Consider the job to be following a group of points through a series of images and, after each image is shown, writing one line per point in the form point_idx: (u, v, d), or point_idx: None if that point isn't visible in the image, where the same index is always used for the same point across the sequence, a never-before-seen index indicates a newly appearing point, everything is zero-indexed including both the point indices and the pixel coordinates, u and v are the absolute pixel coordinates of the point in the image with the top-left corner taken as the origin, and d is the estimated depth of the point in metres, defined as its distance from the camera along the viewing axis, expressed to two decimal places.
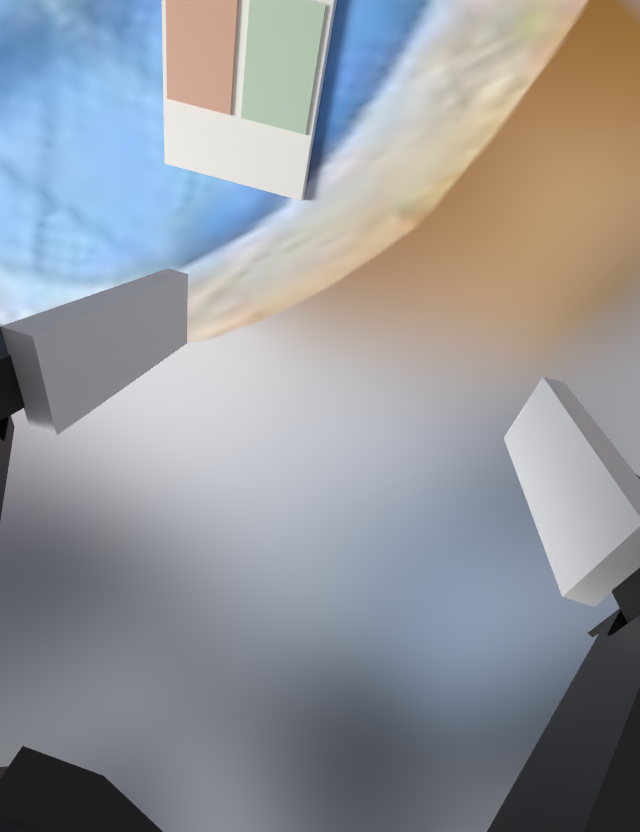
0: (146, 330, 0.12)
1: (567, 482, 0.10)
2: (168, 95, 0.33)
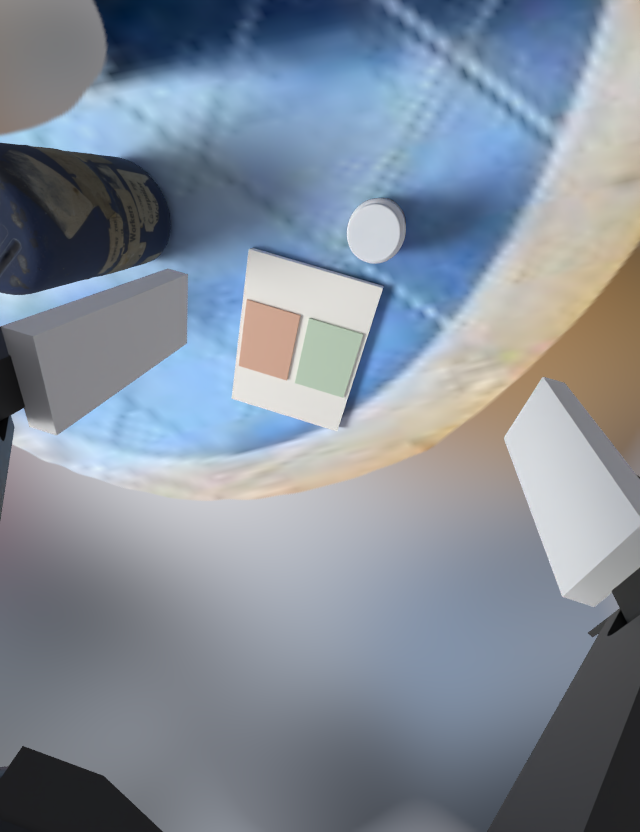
0: (146, 330, 0.12)
1: (567, 482, 0.10)
2: (240, 364, 0.44)
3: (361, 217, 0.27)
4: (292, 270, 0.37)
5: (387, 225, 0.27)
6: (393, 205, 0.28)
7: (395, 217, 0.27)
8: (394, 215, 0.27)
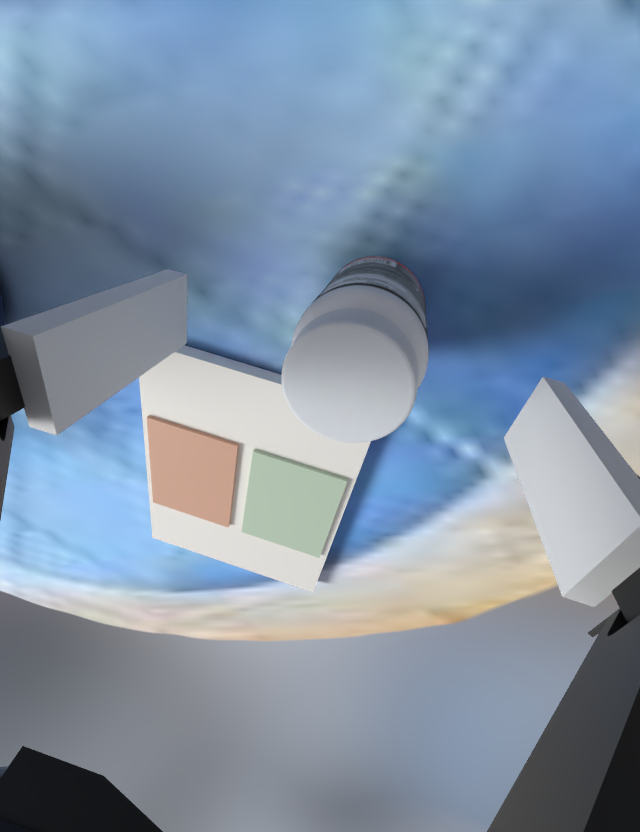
0: (146, 330, 0.12)
1: (567, 482, 0.10)
2: (154, 501, 0.27)
3: (312, 352, 0.10)
4: (216, 377, 0.20)
5: (382, 373, 0.10)
6: (398, 306, 0.11)
7: (403, 356, 0.10)
8: (400, 351, 0.10)
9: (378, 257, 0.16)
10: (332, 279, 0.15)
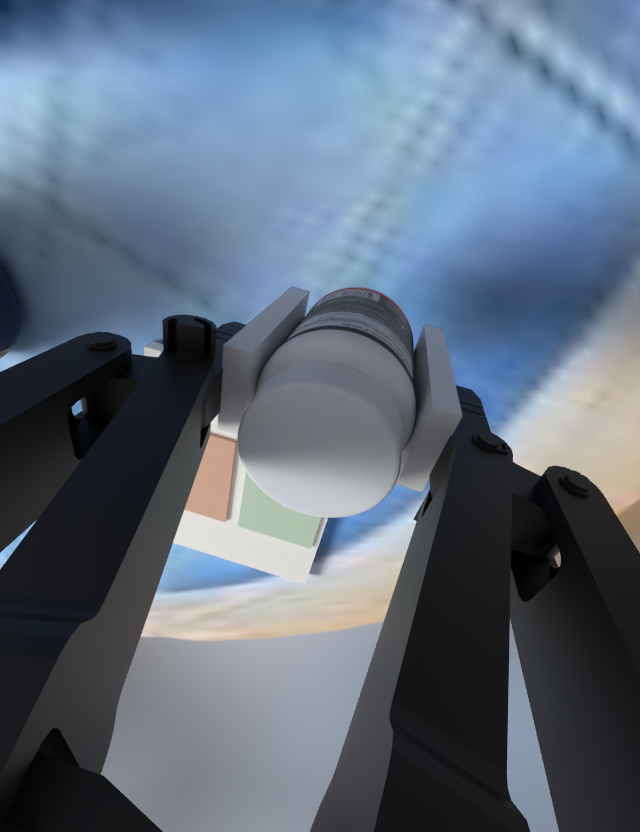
0: None
1: None
2: None
3: (272, 416, 0.08)
4: None
5: (358, 443, 0.08)
6: (379, 356, 0.09)
7: (383, 424, 0.08)
8: (379, 418, 0.08)
9: (359, 288, 0.14)
10: None
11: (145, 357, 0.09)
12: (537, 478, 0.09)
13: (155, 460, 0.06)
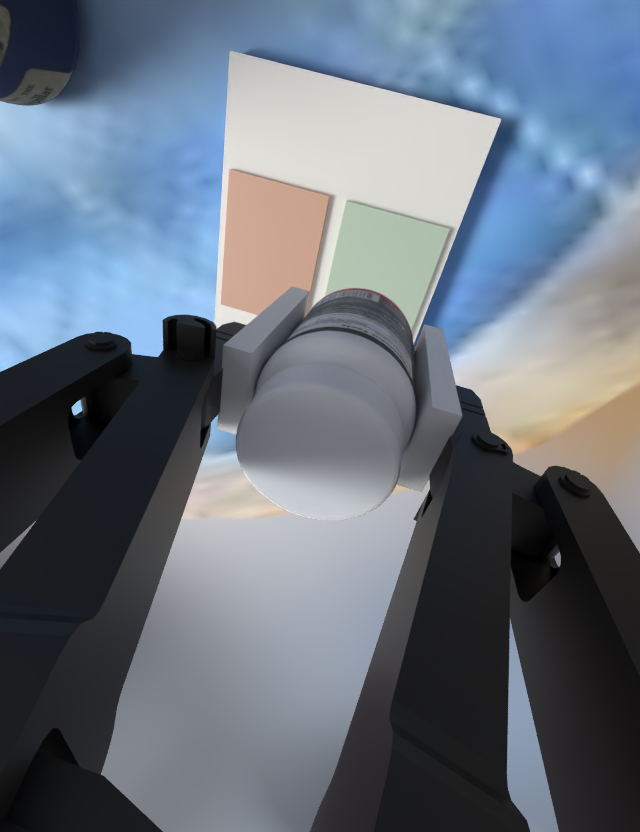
0: None
1: None
2: (222, 301, 0.25)
3: (270, 418, 0.08)
4: (316, 94, 0.19)
5: (357, 446, 0.08)
6: (378, 358, 0.09)
7: (382, 427, 0.08)
8: (379, 421, 0.08)
9: (359, 289, 0.14)
10: (307, 314, 0.14)
11: (145, 357, 0.09)
12: (537, 478, 0.09)
13: (155, 460, 0.06)
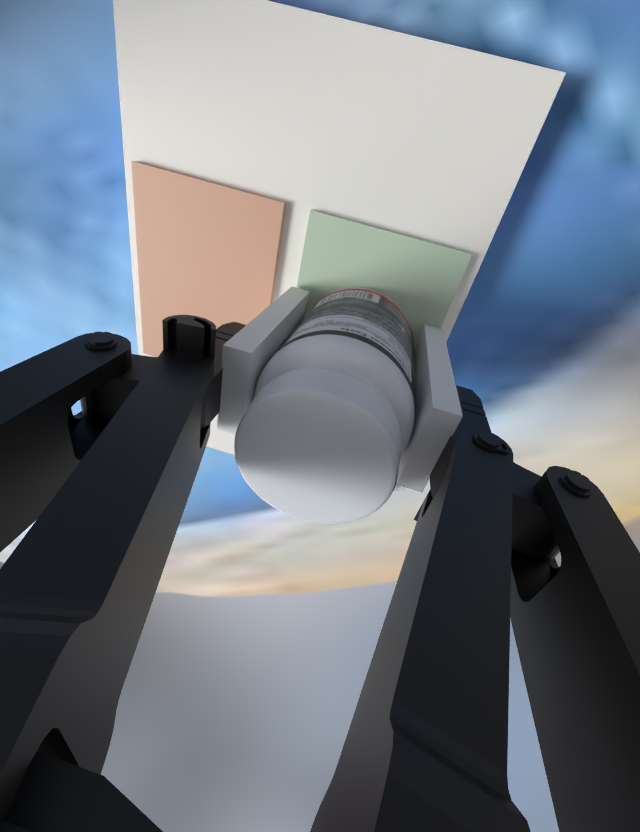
0: None
1: (415, 399, 0.12)
2: (146, 349, 0.18)
3: (268, 424, 0.08)
4: (254, 35, 0.11)
5: (354, 452, 0.08)
6: (377, 362, 0.09)
7: (380, 433, 0.08)
8: (376, 427, 0.08)
9: (359, 289, 0.14)
10: None
11: (145, 357, 0.09)
12: (537, 478, 0.09)
13: (155, 460, 0.06)
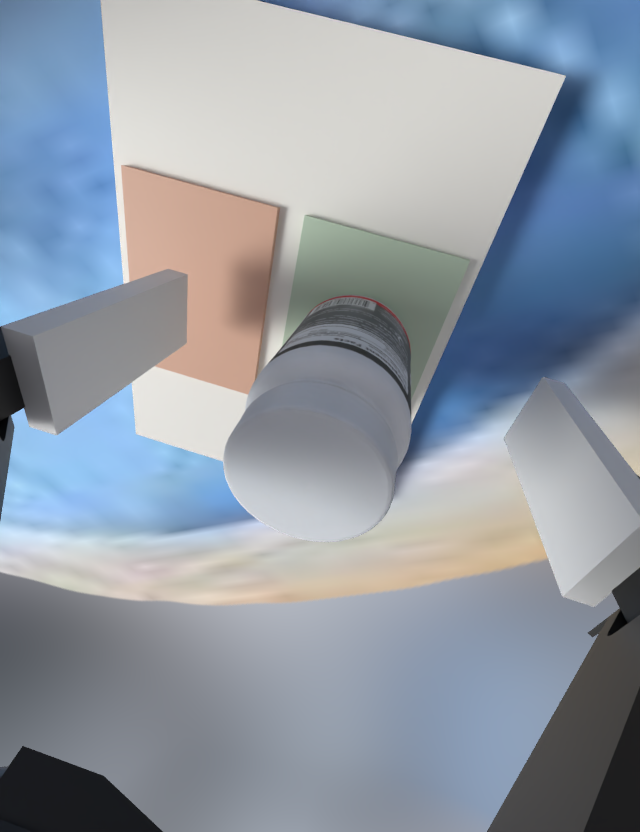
0: (146, 330, 0.12)
1: (567, 482, 0.10)
2: None
3: (258, 440, 0.08)
4: (246, 37, 0.11)
5: (348, 469, 0.08)
6: (372, 374, 0.09)
7: (374, 451, 0.07)
8: (370, 445, 0.07)
9: (355, 296, 0.13)
10: (301, 322, 0.13)
11: None
12: None
13: None
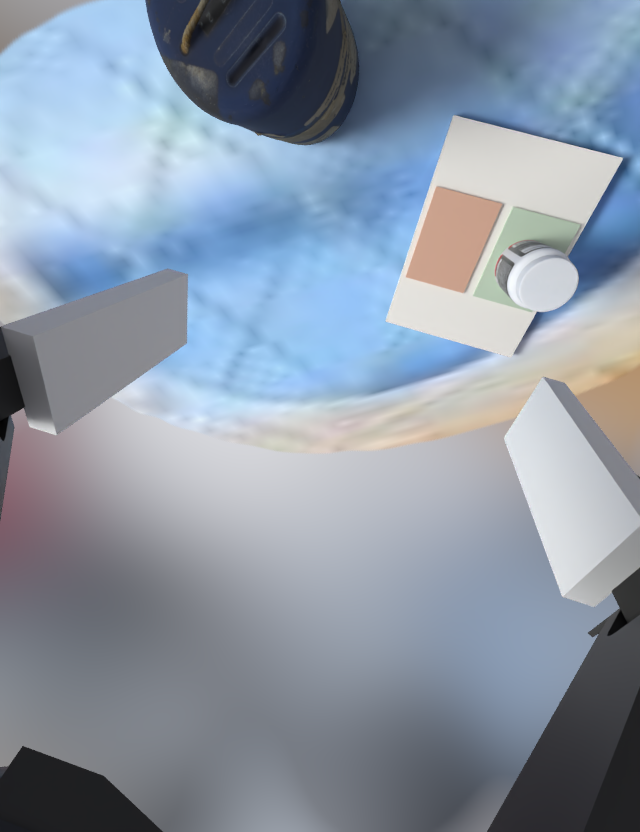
0: (146, 330, 0.12)
1: (567, 482, 0.10)
2: (407, 275, 0.37)
3: (539, 270, 0.27)
4: (505, 141, 0.31)
5: (565, 278, 0.27)
6: (564, 255, 0.28)
7: (575, 270, 0.27)
8: (575, 268, 0.27)
9: (531, 240, 0.33)
10: (510, 250, 0.33)
11: None
12: None
13: None
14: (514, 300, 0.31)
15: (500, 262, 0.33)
